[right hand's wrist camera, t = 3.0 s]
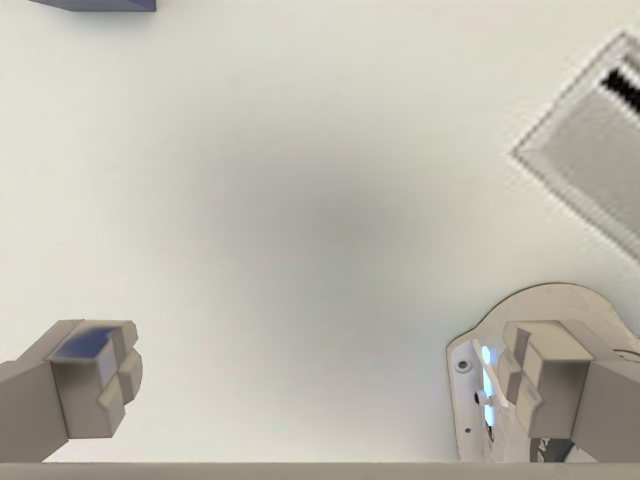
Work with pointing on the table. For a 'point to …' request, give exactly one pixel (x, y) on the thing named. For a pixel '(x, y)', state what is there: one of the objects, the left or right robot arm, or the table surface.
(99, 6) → the box
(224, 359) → the table surface
